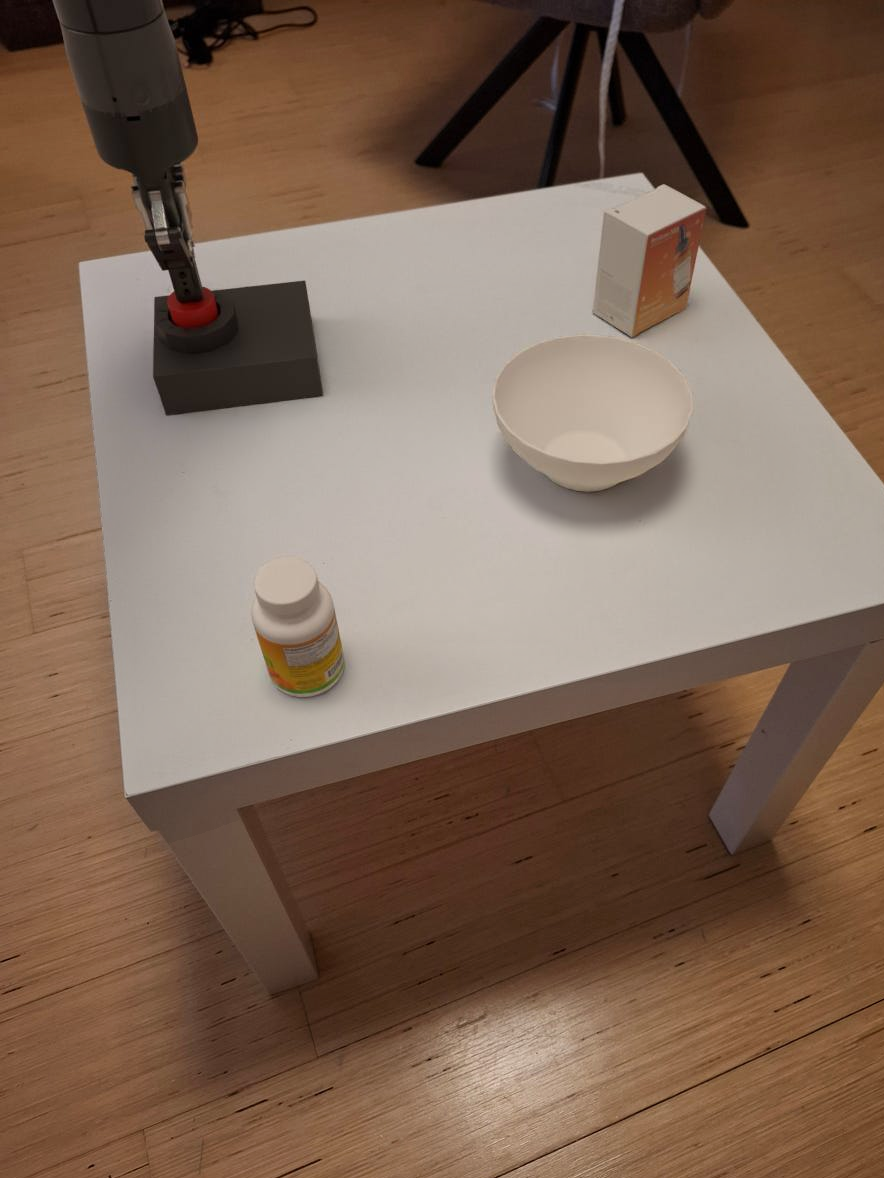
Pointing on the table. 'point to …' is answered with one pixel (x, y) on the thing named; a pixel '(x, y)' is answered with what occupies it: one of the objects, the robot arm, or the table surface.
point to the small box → (647, 259)
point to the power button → (193, 310)
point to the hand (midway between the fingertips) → (190, 297)
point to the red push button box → (238, 351)
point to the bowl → (591, 409)
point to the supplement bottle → (296, 627)
